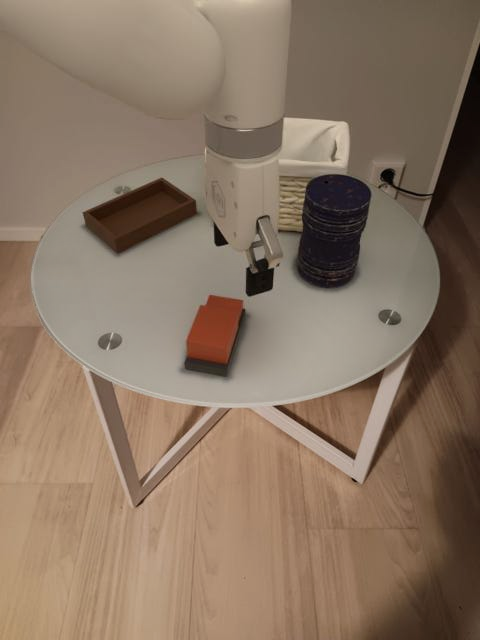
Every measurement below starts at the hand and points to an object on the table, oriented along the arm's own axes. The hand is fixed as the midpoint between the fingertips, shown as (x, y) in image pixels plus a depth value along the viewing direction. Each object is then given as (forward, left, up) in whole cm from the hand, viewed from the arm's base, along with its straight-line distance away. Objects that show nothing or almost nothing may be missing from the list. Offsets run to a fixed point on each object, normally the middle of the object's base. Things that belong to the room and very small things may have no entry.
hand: (242, 266), depth 61 cm
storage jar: (+23, +4, -16) cm, 28 cm away
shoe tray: (+8, +36, -16) cm, 40 cm away
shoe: (-1, +4, -16) cm, 17 cm away
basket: (+29, +22, -16) cm, 40 cm away
